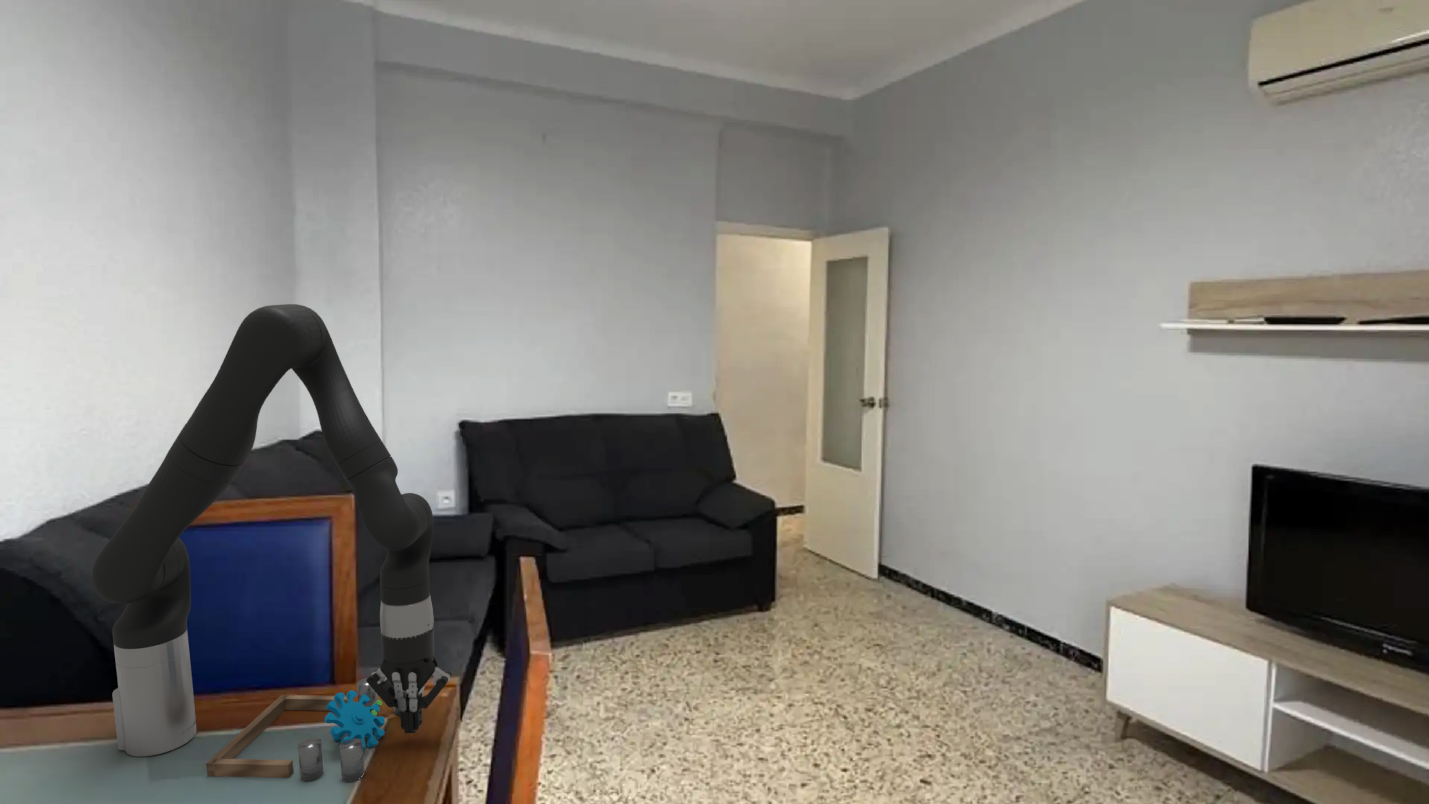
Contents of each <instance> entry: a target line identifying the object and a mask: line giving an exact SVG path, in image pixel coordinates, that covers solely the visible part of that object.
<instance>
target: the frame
mask: <svg viewBox="0 0 1429 804" xmlns="http://www.w3.org/2000/svg"><path fill="white" fill-rule="evenodd" d="M334 696H335V695H313V694H312V695H310V694H309V695H306V694H305V695H301V694H299V695H298V694H297V695H296V694H281V695H280V696H279V697H277V699H275V700H274V701H273V702H272V703H271V704H270V705H269V706H267V707H266V708H265V709H264V710H263V711H262V712H261V713H260V714H258V716H257V717H255V719H253V720H252V721H251V722H250V723H249V724H247V726H246V727H245V728H243V729H242V730H241V731H240V732H238V734H237V735H235V737H234V738H232V739H231V740H230V741H229V742H228V743H227V744H226V745H225V746H223V747H222V748H221V750H218V752H217V753H216V754H215V755H213V757H212V758H210V759H209V760H208V761H207V762H205V766H206V767H205V768H206V776H207V777H226V778H227V777H228V778H229V777H233V778H238V777H239V778H240V777H241V778H276V779H277V778H278V779H279V778H280V779H281V778H282V779H284V778H285V779H289V778H291V777H292V775H293V774H294V773H295V771H294V760H293V759H255V758H253V759H250V758H236V757H238V756H239V754H241V753H242V752H243V751H244V750H245V749H246V748H247V747H248V746H249V745H250V744H251V743H252V742H253V741H254V740H255V739H257V738H258V737H259V736H260V735H261V734H262V733H263V732H264V731H265V730H266V729H268V727H269V726H270V725H271V724H272V723H273V722H275V720H277V719H278V718H279V717H280V716H281V714H283V713H284V712H285V711H320V712H321V711H326V712H327V711H329V712H331V711H330V710H327V709H326V706H327V705H328V704H329V703H330V702H331V701H332V700H334V701H335V699H334ZM335 702H336V701H335ZM344 702H345V703H347V696H346V695H345V697H344ZM336 704H337V707H338V708H339V705H338V703H337V702H336Z"/></svg>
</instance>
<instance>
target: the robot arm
mask: <svg viewBox="0 0 1429 804" xmlns="http://www.w3.org/2000/svg"><path fill="white" fill-rule="evenodd" d="M290 370H292V371H293V372H294V373H295V375H296V377H298V378H299V379H300V381H301V382H302V383H303V385H304V386H305V388H306V390H307V392H308V393H309V395H310V397H311V399H312V402H313V405H314V406H315V410H316V413H317V416H318V421H319V426H320V429H321V434H322V437H323V440H324V443H325V444H324V445H325V446H326V449H327V450H328V453H329V455H330V456H331V458H332V460H333V461H334V463H335V465H336V466H337V469H338V470H339V471H340V473H341V474H342V476H343V478H344V479H345V481H346V483H347V484H348V485H349V487H350V488H351V490H352V492H353V496H354V499H355V503H356V505H357V508H358V511H359V513H360V517H361V519H362V522H363V524H364V527H365V529H366V530H367V533H368V534H369V536H370V537H371V538H372V539H373V541H374V542H375V543H376V544H378V546H380V547H381V548H384V549H385V550H387V555H386V558H385V560H384V562H383V564H382V566H381V568H380V572H379V587H380V589H379V590H380V592H379V593H380V608H379V609H380V610H379V623H380V625H379V626H380V642H381V646H380V647H381V657H382V661H381V663H380V665H379V668H378V669H375V670H373V671H372V673H371V674H370V675H369V676H368V677H366V678H367V683H368V684H369V685H370V686H371V687H372V689H373V690H374V691H375V692H376V693H377V697H379V698H380V699H381V701H382V702H383V703H385V705H386V706H387V707H388V708H394V707H396V708H398V709H399V710H400V715H399V716H400V727H401V730H404V732H403V733H404V734H415V733H416V732H417V731H418V730H419V729H420V727H421V726H422V723H423V709H428V708H429V707H430V705H431V704H432V702H434V700H435V699H436V697H437V696H438V695H439V694H440V693H441V691H442V690H443V689H444V688H445V687H446V685H447V684H448V682H449V681H450V680H451V678H452V676H453V674H452V672H451V671H448V670H446V671H443V670H442V669H441V668H440V667H438V666H439V663H438V660H437V659H436V657H435V638H434V636H435V635H434V632H435V631H434V622H435V621H434V620H435V617H434V616H435V615H434V610H433V604H432V598H431V584H430V568H429V567H430V566H429V565H430V557H431V554H432V553H431V551H432V544H433V536H434V515H433V510H432V507H431V506H430V503H428V501H427V499H426V498H424V497H423V496H421V495H419V494H417V493H413V492H406V493H401V491H400V489H399V486H398V483H397V481H396V480H397V476H398V473H399V469H398V466H397V464H396V462H395V460H394V458H393V456H392V455H391V453H390V452H389V450H388V448H387V447H386V446H385V444H384V442H383V440H382V439H381V437H380V436H379V434H378V433H377V431H376V429H375V427H374V426H373V425H372V423H371V421H370V419H369V417H368V415H367V414H366V412H365V411H364V409H363V406H362V404H361V403H360V400H359V399H358V397H357V394H356V393H355V390H354V388H353V386H352V384H351V382H350V379H349V377H348V374H347V372H346V371H345V368H344V366H343V364H342V361H341V358H340V357H339V354H338V352H337V349H336V346H335V344H334V342H333V338H332V337H331V334H330V332H329V329H328V328H327V326H326V324H325V322H324V320H323V318H322V317H321V315H319V314H318V313H317V312H316V311H315V310H314V309H312V308H310V307H308V306H305V305H302V304H298V303H297V304H296V303H290V304H288V303H285V304H272V305H264V306H261V307H259V308H256V309H255V310H252V311H251V312H250V313H248V315H246V317H244V318H243V320H242V321H241V323H240V325H239V327H238V329H237V330H236V333H235V335H234V337H233V338H232V341H231V343H230V346H229V347H228V350H227V352H226V354H225V357H224V358H223V360H222V363H221V365H220V367H219V369H218V372H217V373H216V375H215V376H214V379H213V381H212V382H211V384H210V386H209V387H208V388H207V390H206V391H205V393H204V395H203V396H202V398H201V399H200V401H199V402H198V404H197V406H196V408H195V409H194V410H193V412H192V414H191V416H190V417H189V418H188V420H187V422H186V423H185V424H184V426H183V428H181V430H180V431H179V433H178V435H177V437H176V438H175V440H174V441H173V443H172V444H171V447H170V448H169V450H168V452H167V453H166V455H165V457H164V459H163V460H162V462H161V464H160V466H159V467H158V469H157V470H156V472H155V473H154V475H153V476H152V478H151V480H150V481H149V483H148V485H147V486H146V487H145V490H144V492H143V493H142V495H141V497H140V498H139V500H138V501H137V503H136V505H135V506H134V507H133V509H132V511H131V513H130V514H129V515H128V516H127V517H126V519H125V520H124V521H123V523H122V524H121V525H120V526H119V527H118V529H117V530H116V532H115V533H114V534H113V535H112V537H110V539H109V540H108V542H106V544H105V545H104V546H103V548H102V549H101V550H100V552H99V553H98V554H97V556H96V558H95V560H94V563H93V565H92V569H91V570H92V571H91V581H92V585H93V588H94V590H95V592H96V593H97V594H98V596H99V597H100V598H101V599H103V600H104V601H105V602H108V603H111V604H116V605H122V604H123V605H125V604H126V607H125V609H124V610H123V612H122V613H121V615H120V616H119V617H118V619H116V621H115V622H114V624H113V626H112V641H113V649H114V650H113V651H114V659H115V669H116V677H117V686H118V687H117V688H115V689H114V690H113V692H112V696H111V697H112V704H113V714H114V721H115V729H116V730H115V731H116V740H117V741H116V742H117V749H118V751H124V752H126V754H127V755H129V756H133V757H151V756H156V755H160V754H164V753H168V752H170V751H173V750H176V749H177V748H179V747H181V746H184V745H185V744H186V743H189V741H191V740H192V739H193V738H194V737H195V736H196V734H197V731H198V730H197V721H196V712H195V711H196V710H195V697H194V688H193V687H194V685H193V676H192V665H191V657H190V655H191V654H190V646H189V634H188V625H187V624H188V623H187V622H188V617H189V614H190V611H191V606H192V595H191V594H192V588H191V582H192V581H191V565H190V564H191V563H190V556H189V552H188V549H187V547H186V544H185V543H184V542H183V540H182V539H181V538H180V536H181V535H183V532H184V531H185V530H187V528H188V527H189V526H190V525H192V523H194V521H196V520H197V519H198V518H199V517H200V516H201V515H202V514H203V513H204V512H205V511H206V510H207V509H209V507H211V505H213V504H214V503H215V502H216V501H217V500H218V499H219V498H220V497H221V495H222V494H223V493H225V491H226V490H227V489H228V488H229V486H230V485H231V484H232V482H233V481H234V480H235V478H236V477H237V475H238V474H239V472H240V471H241V469H242V468H243V466H244V464H245V462H246V461H247V460H248V458H249V456H250V454H251V452H252V450H253V447H254V445H255V442H256V436H257V431H258V430H257V428H258V421H259V416H260V412H261V409H262V407H263V405H264V404H265V402H266V400H267V398H268V397H269V395H270V394H271V393H272V392H273V389H274V388H275V387H276V385H277V384H278V383H279V382H280V380H281V379H282V378H283V377H284V376H285V374H287V372H288V371H290ZM432 676H433V679H432V684H433V687H432V688H431V690H430V691H429V692H428V693H427V694H426V695H424V691H425V688H426V684H427V683H428V681H429V680H430V678H431V677H432Z"/></svg>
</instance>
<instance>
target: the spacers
mask: <svg viewBox="0 0 1429 804" xmlns="http://www.w3.org/2000/svg"><path fill="white" fill-rule="evenodd" d="M367 678H368V677H364V678H361V679H360V680H357V682H356V690H357V691H356V692H357V702H359V699H360V698H361V697H362V696H363V695H364V694H366V695H367V696H368V697H369V698H370V700H369V701H368V702H367V703H366V704H363V705H364V706H365V707H371V706H372V705H373V704H374V703H375V702H376V701H377V700H379V699H378V694H377V693H376V692H375V691H374V690H373V689H372V687H371V686H370V685H369V684H368V683H367ZM393 713H394V714H395V715H396V716H400V710H399V709H398V708H396V707H393ZM322 744H323V743H322V739H321V738H320V737H309V738H306V739H303V740H302V741H301V742H299V744H298V747H297V748H298V760H299V761H298V762H299V763H298V764H299V774H300V775H299V776H300V781H302V782H305V783H307V782H308V783H309V782H310V783H311V782H314V781H317V780H319V779H320V778H322V777H323V776H324V757H323V746H322ZM339 757H340V758H339V759H340V774H341V781H342V782H344V783H355V782H358V781H359V778H361V776H362V775H363V773H364V774H365V763H364V749H363V744H362V740H361V739H357V738H353V739H349V740H346V741H344V742H342V743H341V742H340V744H339ZM361 779H362V778H361Z"/></svg>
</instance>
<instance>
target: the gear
mask: <svg viewBox="0 0 1429 804" xmlns="http://www.w3.org/2000/svg"><path fill="white" fill-rule="evenodd" d="M333 696H334V699H335V701H336V702H337V703H338V705H339V708H338V707H337V704H336V702H335V701H334V700H332V701H331V702H330V703H329V704H328V705H327V706H326V709H327V710H330V711H329V712H328V713H327V714H326V715H325V716H324V723H326V724H335V725H333V727H331V728H330V729H329V733H330V735H331V737H333V738H332V739H333V741H334V742H340V744H341V743H342V742H344V741H346V740H349V739H354V738H357V739H361V740H362V744H363V750H364V749H365V748H366V746H367V747H368V748H369V749H371V748H374V747H376V746H377V745H378V743H379V741H378V740H379V739H381V738H382V737H383V736H384V735H385V733H386V732H385V730H384V729H383V728H381V727H382V726H383V725H385V723H386V718H385V717H384V716H378V713H379V712H380V711H381V710H380V709H381V708H380V707H381V706H382V705H383V700H382V699H381V700H380V699H378V700H377V701H376V702H375V703H374V704H373V705H372V706H371V707H365V706H364V705H363V704H366V703H367V702H368V701H369V700H370V698H369V697H368V696H367V695H366V694H364V695H363V696H362V697H361V698H360V699H359V702H358V701H357V702H356V701H355V700H354V699H355V698H356V697H358V694H357V691H355V690H351V689H350V690H349V691H347V693H346V695H345V693H344V692H337V693H335V695H333ZM345 696H347V703H345V702H344V697H345ZM373 733H374V734H373ZM346 735H347V736H346ZM365 737H366V738H367V743H366V740H365Z"/></svg>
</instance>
